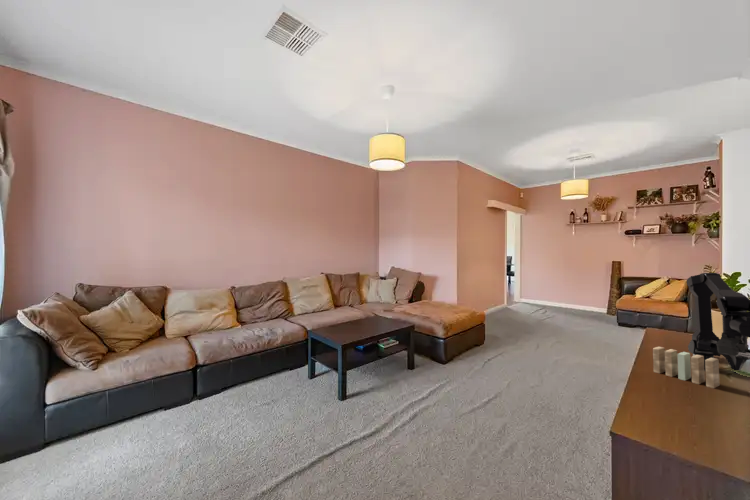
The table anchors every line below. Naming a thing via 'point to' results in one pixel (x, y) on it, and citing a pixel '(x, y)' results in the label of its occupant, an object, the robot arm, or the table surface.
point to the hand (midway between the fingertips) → (736, 373)
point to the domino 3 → (684, 366)
